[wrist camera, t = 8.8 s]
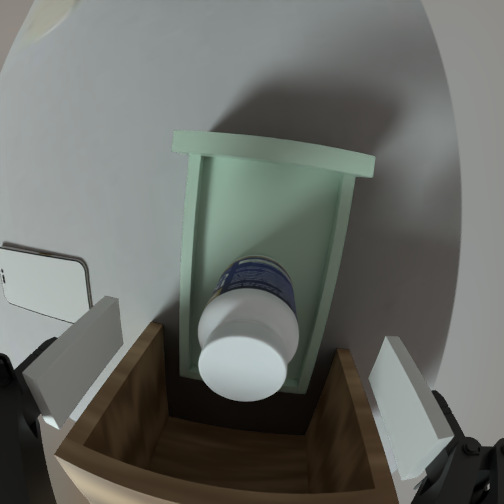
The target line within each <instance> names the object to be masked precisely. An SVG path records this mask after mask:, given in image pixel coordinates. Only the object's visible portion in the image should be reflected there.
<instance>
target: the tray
mask: <svg viewBox="0 0 504 504" xmlns="http://www.w3.org/2000/svg"><path fill="white" fill-rule="evenodd" d="M172 152H177V153H182V154H187V155H189V163H188V172H187V183H186V193H185V205H184V218H183V233H182V251H181V273H180V310H179V357H180V376H182V377H186V378H191V379H196V380H201V381H204V380H203V379H202V377H201V375H200V372H199V367H198V362H199V357H200V354H201V351H202V349H201V346H200V343H199V339H198V325H199V321H200V318H201V316H202V313H203V311H204V309H205V307H206V305H207V303H208V301H209V299H210V297H211V295H212V293H213V291H214V289H215V287H216V285H217V283H218V281H219V279H220V277H221V275H222V273H223V272H224V271H225V269H226V268H227V267H228V266H229V265H230V264H231V263H232V262H234V261H235V260H237V259H239V258H241V257H244V256H248V255H264V256H267V257H270V258H272V259H274V260H276V261H278V262H279V263H280V264H281V265H282V266H283V267H284V268H285V269H286V270H287V272H288V274H289V275H290V278H291V281H292V284H293V290H294V298H295V305H296V313H297V319H298V329H299V342H298V347H297V350H296V352H295V354H294V356H293V358H292V359H291V361H290V362H289V363H288V364H287V376H286V379H285V382H284V383H283V385H282V387H281V388H280V389H279V390H278V391H277V392H287V393H299V394H306V391H307V388H308V385H309V382H310V378H311V375H312V372H313V369H314V365H315V362H316V359H317V355H318V352H319V348H320V345H321V341H322V337H323V334H324V330H325V326H326V322H327V318H328V315H329V311H330V307H331V302H332V298H333V294H334V290H335V286H336V281H337V277H338V272H339V267H340V263H341V258H342V253H343V248H344V243H345V238H346V232H347V227H348V221H349V215H350V209H351V203H352V197H353V190H354V184H355V177H369V178H373V173H374V165H375V157H376V156H372V155H367V154H363V153H358V152H354V151H349V150H344V149H339V148H334V147H328V146H323V145H317V144H311V143H305V142H299V141H292V140H285V139H278V138H270V137H261V136H252V135H242V134H231V133H218V132H202V131H178V130H174V135H173V143H172Z"/></svg>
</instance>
